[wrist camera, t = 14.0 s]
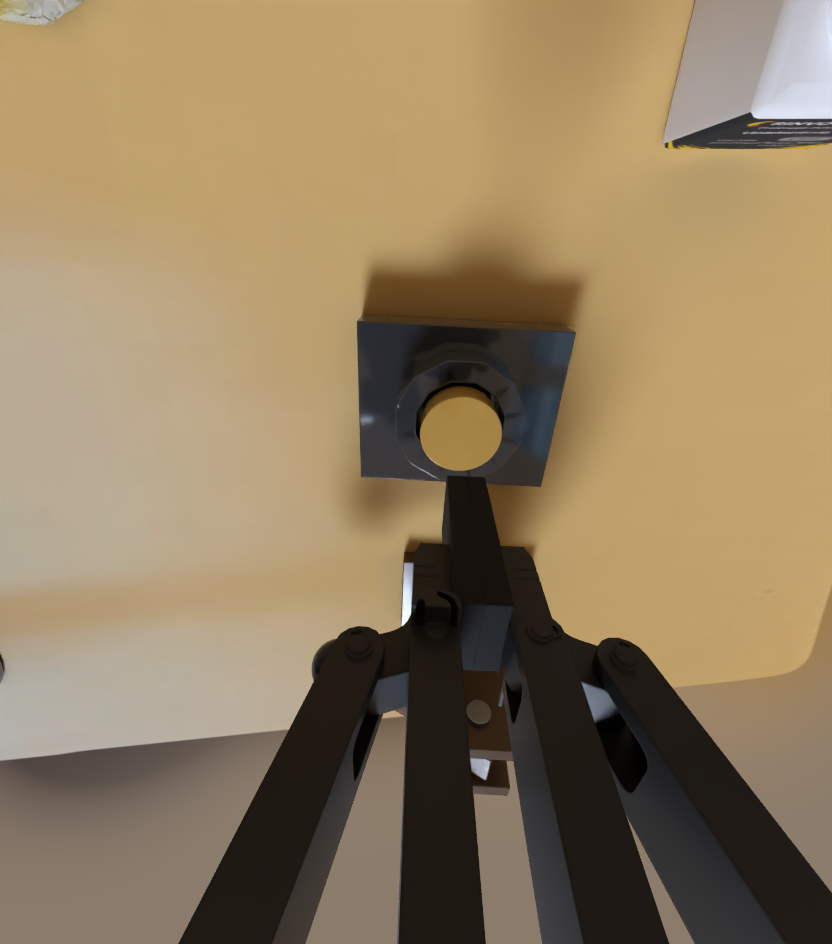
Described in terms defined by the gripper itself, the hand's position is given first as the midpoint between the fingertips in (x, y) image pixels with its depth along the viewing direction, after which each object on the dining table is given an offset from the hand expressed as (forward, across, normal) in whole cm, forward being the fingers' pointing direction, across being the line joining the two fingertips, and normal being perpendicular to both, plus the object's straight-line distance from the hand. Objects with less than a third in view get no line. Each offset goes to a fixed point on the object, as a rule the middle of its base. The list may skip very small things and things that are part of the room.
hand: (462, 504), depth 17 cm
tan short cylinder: (+8, 0, 0) cm, 8 cm away
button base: (+12, 0, 0) cm, 12 cm away
